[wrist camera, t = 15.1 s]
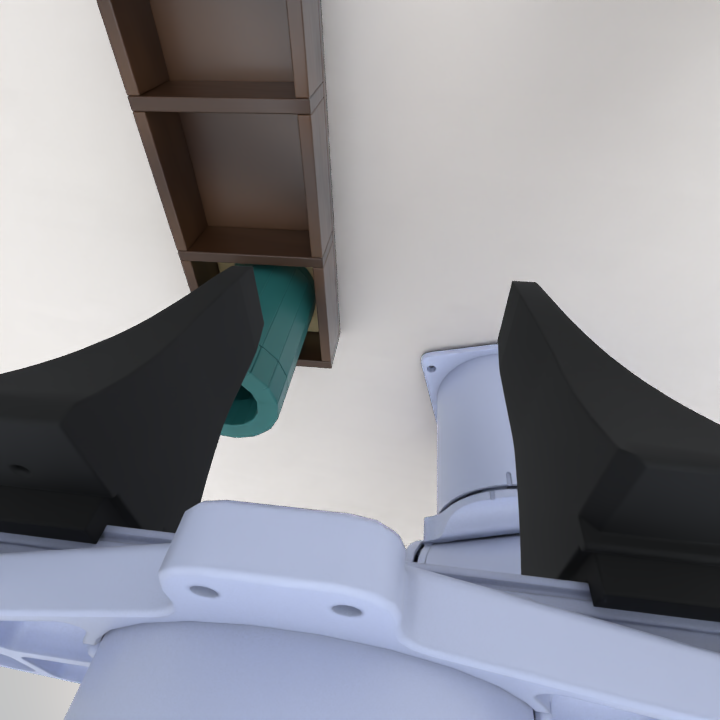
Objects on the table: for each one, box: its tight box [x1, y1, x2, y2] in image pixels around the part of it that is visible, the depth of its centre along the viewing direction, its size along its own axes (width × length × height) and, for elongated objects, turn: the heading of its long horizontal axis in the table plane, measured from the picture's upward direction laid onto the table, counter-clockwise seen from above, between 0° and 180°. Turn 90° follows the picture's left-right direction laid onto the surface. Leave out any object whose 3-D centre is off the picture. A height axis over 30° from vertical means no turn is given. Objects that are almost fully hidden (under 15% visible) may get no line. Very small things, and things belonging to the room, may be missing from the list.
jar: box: [220, 263, 316, 438], centre depth 21 cm, size 5×5×8 cm
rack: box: [97, 0, 340, 368], centre depth 19 cm, size 19×7×3 cm, turn 1°
